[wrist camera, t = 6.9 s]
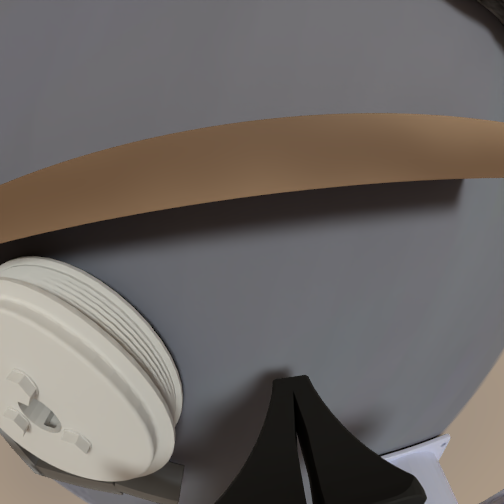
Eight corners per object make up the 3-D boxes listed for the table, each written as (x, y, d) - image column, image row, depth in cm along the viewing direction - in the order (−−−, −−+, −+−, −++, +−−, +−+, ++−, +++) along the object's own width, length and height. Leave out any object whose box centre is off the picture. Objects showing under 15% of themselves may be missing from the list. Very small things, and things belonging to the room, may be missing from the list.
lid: (189, 449, 16) (180, 515, 12) (24, 407, 16) (-5, 453, 11) (184, 262, 12) (151, 332, 8) (-28, 240, 12) (-90, 274, 7)
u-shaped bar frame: (417, 437, 17) (432, 468, 14) (54, 455, 17) (43, 481, 15) (464, 122, 10) (509, 123, 7) (-63, 218, 11) (-96, 233, 8)
